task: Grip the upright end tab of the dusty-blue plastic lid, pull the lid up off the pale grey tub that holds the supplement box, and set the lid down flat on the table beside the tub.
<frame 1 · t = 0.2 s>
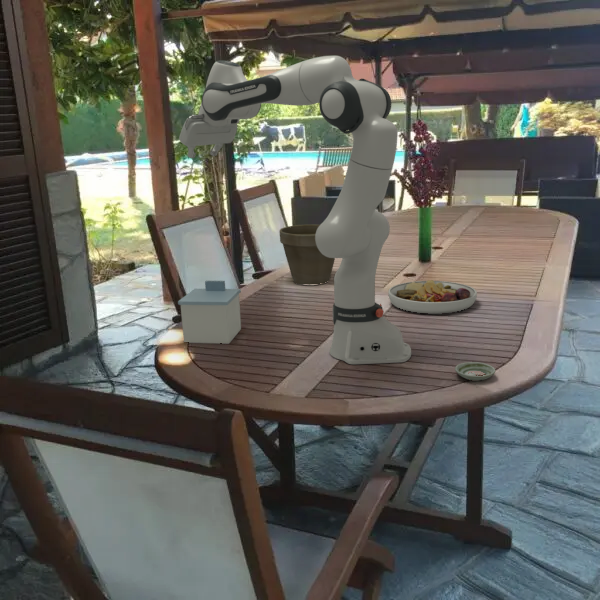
hand: (202, 156, 198), 54 cm above the table, tool tilted 30°, fingers open, 8 cm apart
supplement box: (213, 336, 198), resting in tub
saucer: (474, 378, 159), on the table
lid: (210, 298, 195), point 12 cm above the table, touching tub
plant pot: (312, 282, 261), on the table
bowl: (431, 305, 223), on the table
tub: (213, 335, 198), on the table
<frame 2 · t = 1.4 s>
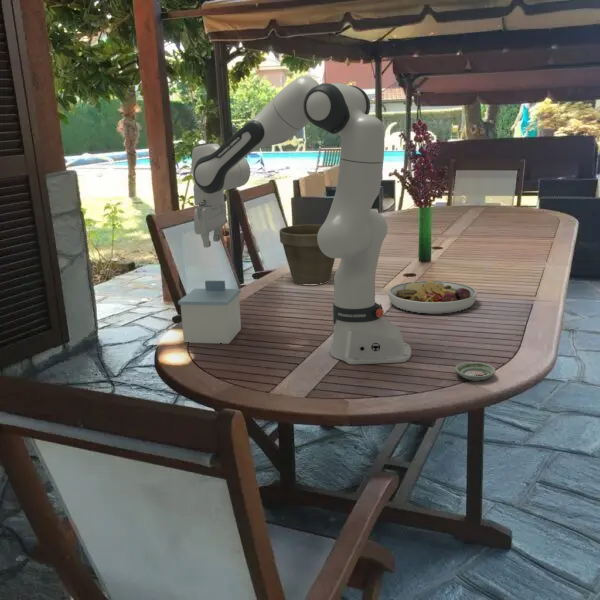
hand: (212, 244, 196), 28 cm above the table, tool pointing down, fingers open, 8 cm apart
nothing on the table moved.
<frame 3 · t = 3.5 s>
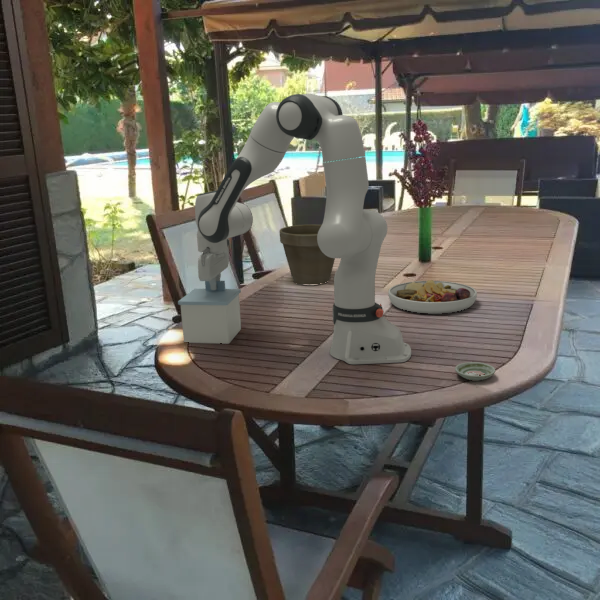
hand: (215, 288, 200), 14 cm above the table, tool pointing down, fingers closed on lid
lid: (210, 298, 195), point 12 cm above the table, touching gripper, tub
everything else where it was.
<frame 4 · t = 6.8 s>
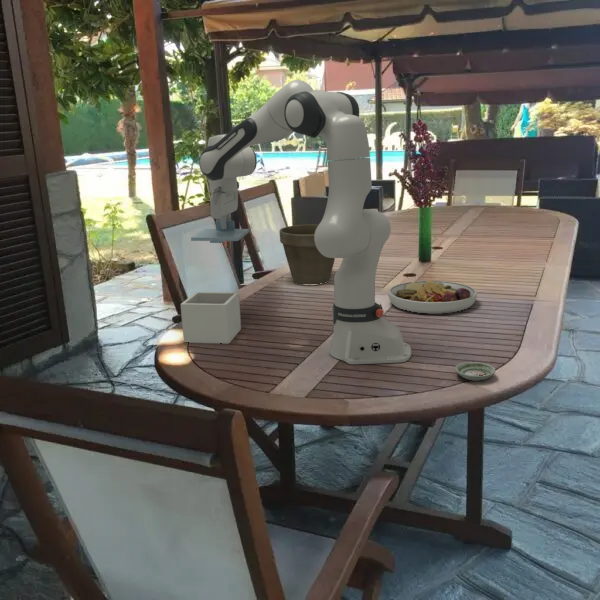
hand: (225, 228, 211), 30 cm above the table, tool pointing down, fingers closed on lid
lid: (221, 236, 206), point 28 cm above the table, touching gripper
everything else where it was.
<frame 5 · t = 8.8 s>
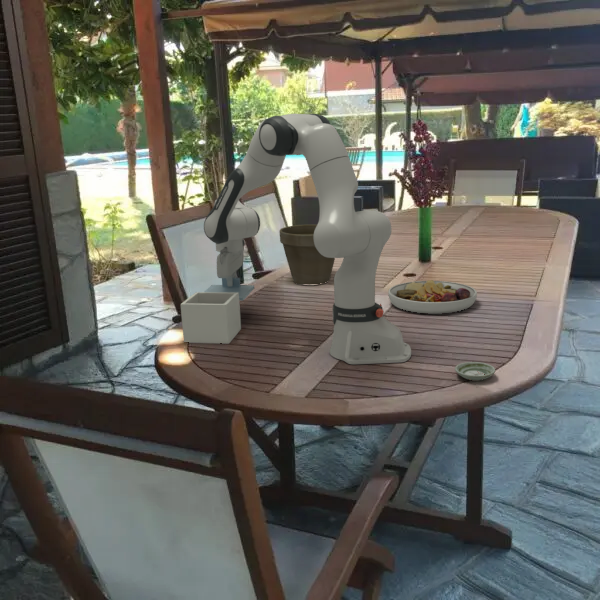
hand: (231, 285, 218), 10 cm above the table, tool pointing down, fingers closed on lid
lid: (227, 293, 213), point 9 cm above the table, touching gripper
everything else where it was.
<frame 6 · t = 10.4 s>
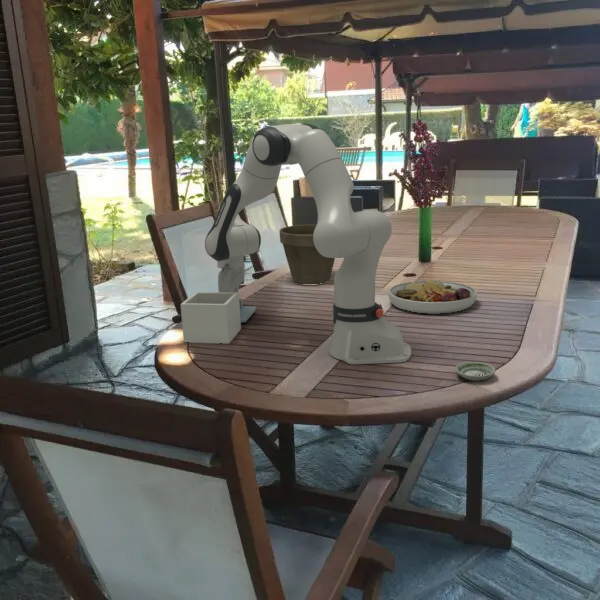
hand: (233, 300, 219), 5 cm above the table, tool pointing down, fingers open, 4 cm apart
lid: (229, 315, 215), point 1 cm above the table
everything else where it was.
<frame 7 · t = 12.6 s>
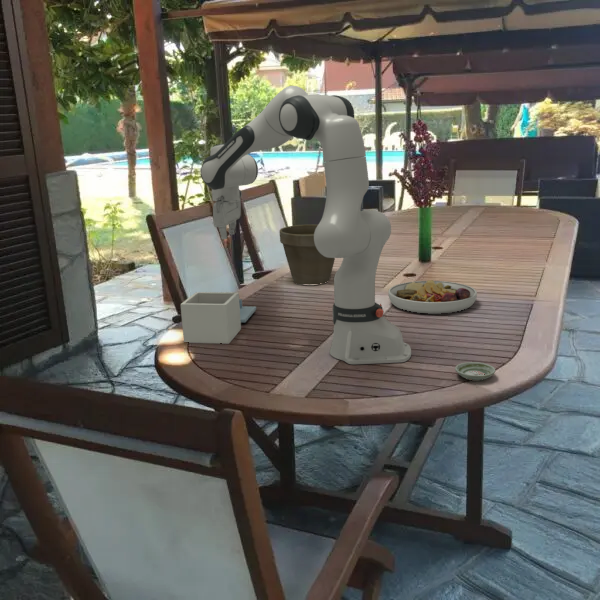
hand: (228, 236, 213), 27 cm above the table, tool pointing down, fingers open, 8 cm apart
nothing on the table moved.
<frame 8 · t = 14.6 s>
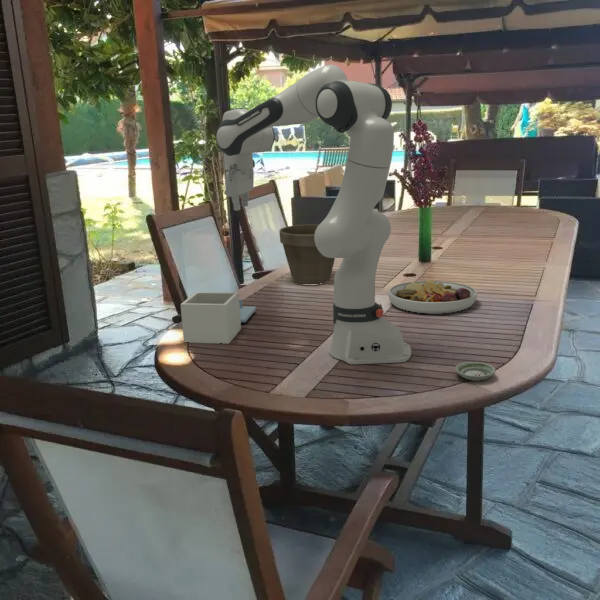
hand: (241, 208, 202), 37 cm above the table, tool pointing down, fingers open, 8 cm apart
nothing on the table moved.
at the end: lid inside the target area (0.8 cm from its centre), point 1.0 cm above the table; lid touching table; lid tilted 0° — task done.
